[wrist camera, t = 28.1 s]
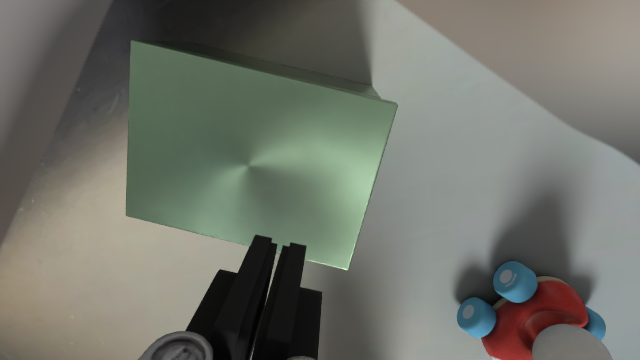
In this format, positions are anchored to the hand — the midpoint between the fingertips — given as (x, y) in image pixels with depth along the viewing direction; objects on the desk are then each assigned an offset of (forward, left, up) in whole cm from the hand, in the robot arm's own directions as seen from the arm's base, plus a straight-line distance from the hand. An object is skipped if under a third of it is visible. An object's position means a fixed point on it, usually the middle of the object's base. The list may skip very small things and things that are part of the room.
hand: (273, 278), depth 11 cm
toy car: (+21, +10, -17) cm, 29 cm away
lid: (-2, -3, -10) cm, 11 cm away
